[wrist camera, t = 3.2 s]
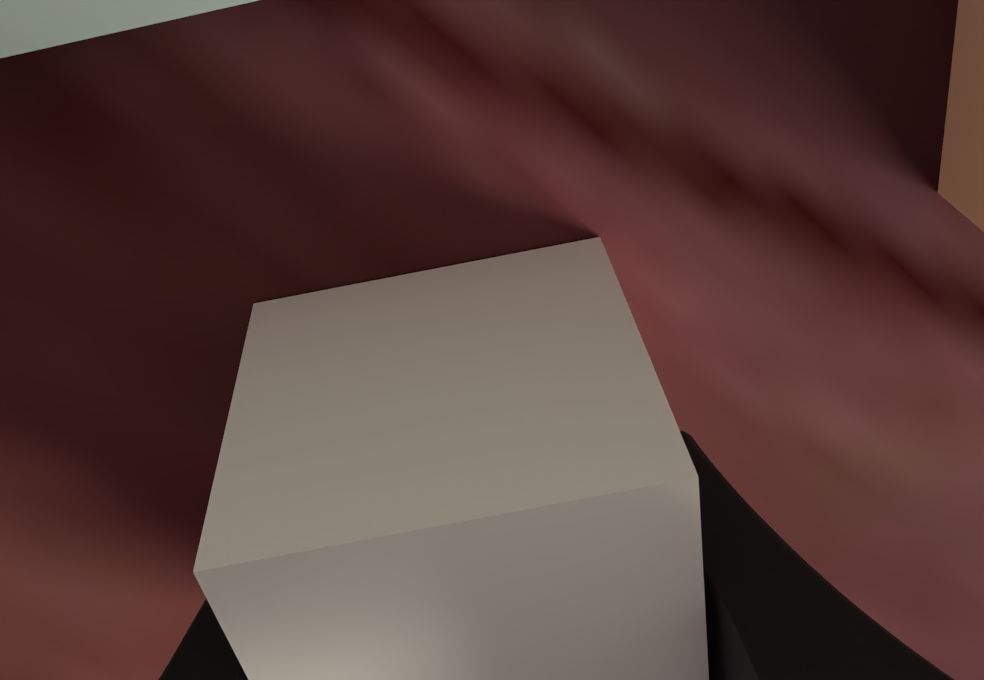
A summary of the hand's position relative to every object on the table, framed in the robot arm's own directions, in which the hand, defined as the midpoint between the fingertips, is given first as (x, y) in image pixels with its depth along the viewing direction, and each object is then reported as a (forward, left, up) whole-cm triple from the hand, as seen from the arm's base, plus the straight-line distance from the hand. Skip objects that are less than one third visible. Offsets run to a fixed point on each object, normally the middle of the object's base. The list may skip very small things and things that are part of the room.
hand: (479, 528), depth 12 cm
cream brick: (0, 0, -1) cm, 1 cm away
